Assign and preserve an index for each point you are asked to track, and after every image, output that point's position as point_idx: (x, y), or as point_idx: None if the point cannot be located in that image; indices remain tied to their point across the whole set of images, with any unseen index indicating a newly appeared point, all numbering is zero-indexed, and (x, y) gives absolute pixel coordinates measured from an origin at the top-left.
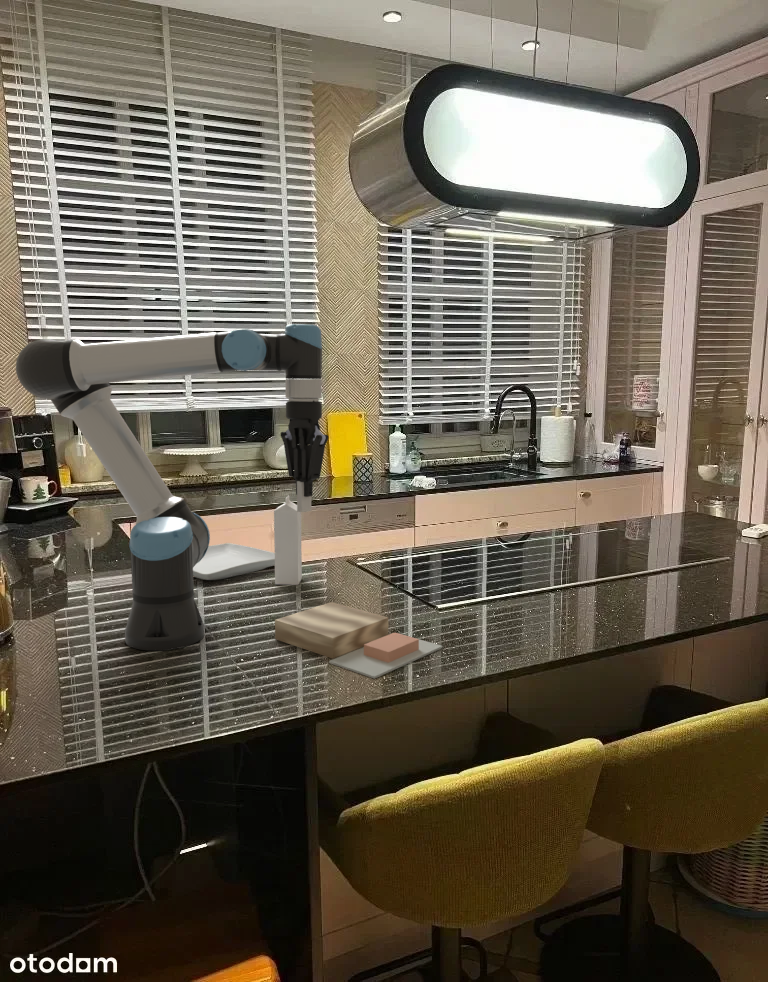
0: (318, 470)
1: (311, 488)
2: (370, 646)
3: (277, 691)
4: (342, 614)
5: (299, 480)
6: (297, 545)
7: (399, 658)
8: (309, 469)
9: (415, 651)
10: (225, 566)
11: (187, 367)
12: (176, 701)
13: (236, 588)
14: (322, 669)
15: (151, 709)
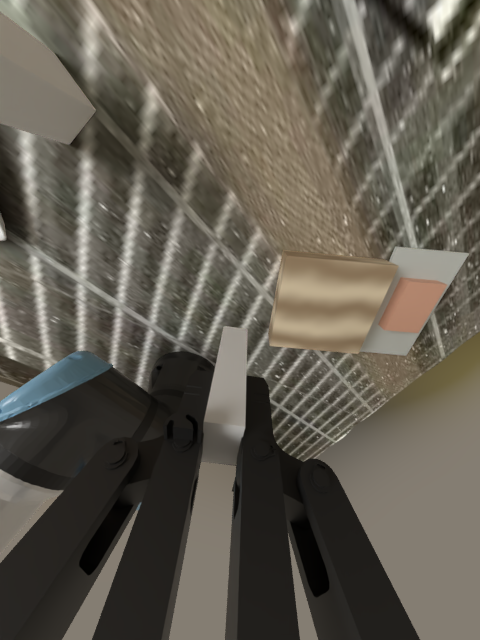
0: (358, 550)
1: (269, 412)
2: (393, 330)
3: (339, 398)
4: (331, 291)
5: (201, 455)
6: (16, 65)
7: None
8: (310, 577)
9: None
10: None
11: None
12: (289, 428)
13: (60, 215)
14: (351, 360)
15: (284, 437)
